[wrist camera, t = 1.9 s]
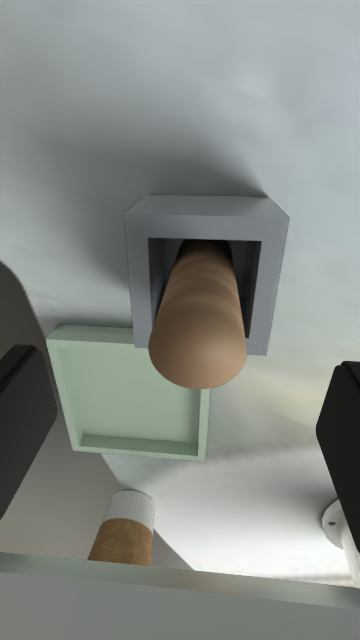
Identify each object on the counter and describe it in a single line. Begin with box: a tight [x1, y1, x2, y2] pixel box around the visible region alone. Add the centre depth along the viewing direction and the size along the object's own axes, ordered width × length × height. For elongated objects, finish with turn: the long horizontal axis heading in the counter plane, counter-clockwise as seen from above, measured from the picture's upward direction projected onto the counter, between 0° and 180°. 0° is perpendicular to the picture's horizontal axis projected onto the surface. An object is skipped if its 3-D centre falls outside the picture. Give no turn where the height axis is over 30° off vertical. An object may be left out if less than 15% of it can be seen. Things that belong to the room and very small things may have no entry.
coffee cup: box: [88, 490, 155, 566], centre depth 35 cm, size 8×8×15 cm
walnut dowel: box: [148, 239, 247, 389], centre depth 18 cm, size 4×4×12 cm
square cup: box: [124, 194, 290, 356], centre depth 21 cm, size 8×8×7 cm
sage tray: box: [46, 324, 210, 462], centre depth 30 cm, size 14×14×2 cm
